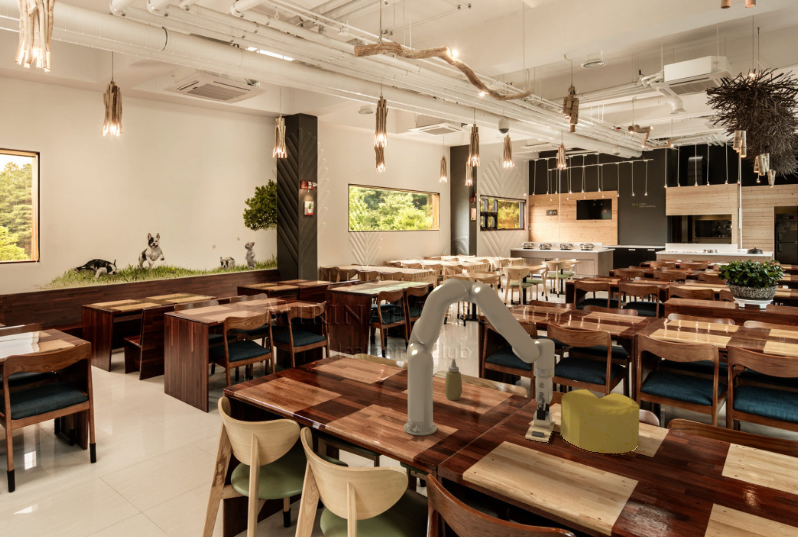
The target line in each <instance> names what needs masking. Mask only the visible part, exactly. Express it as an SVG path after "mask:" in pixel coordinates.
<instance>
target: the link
mask: <svg viewBox="0 0 798 537" xmlns="http://www.w3.org/2000/svg"><path fill="white" fill-rule="evenodd" d="M533 420H534V426H541V427H547V428H550V426H551V424H552V421H553V412H552V411H549V412H546V420H545V421H544V420H538V419H537V409H536V410H535V412H534V414H533Z"/></svg>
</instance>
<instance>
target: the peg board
mask: <svg viewBox="0 0 798 537" xmlns="http://www.w3.org/2000/svg"><path fill="white" fill-rule="evenodd" d="M555 423H556V420H552V424H551V426H550V428H547V427H541V426H534V419H533V421H532V423H531V424H530V426H529V428H528V430H527V432H526V434H525V436H524V439H525V438H526V439H531V440H536V441H542V442H547V443H548V444H549V442H550V440H549V438H550V439H551V437H552V434H553V432H554V429H553V428H555V427H554V425H555V426H556V424H555ZM552 431H553V432H552ZM551 433H552V434H551ZM550 436H551V437H550ZM548 441H549V442H548ZM547 443H546V444H547Z"/></svg>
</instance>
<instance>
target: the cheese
mask: <svg viewBox="0 0 798 537" xmlns="http://www.w3.org/2000/svg"><path fill="white" fill-rule="evenodd" d="M560 399H561V400H560V404H561V405H560V436H561V435H562V437H563V439H565V440H566V441H568V442H569V443H571V444H573V445H575V446H577V447H579V448H582V449H585V450H588V451H592V452H599V453H613V454H614V453H616V454H617V453H624V452H629V451H632V450H634V449H635V448H636V447H637V446H638V447H639V439H640V438H639V436H640V405H639V404H638V402H636V401H635V400H634V399H633V398H631V397H628V396H626V395H623V394H620V393H619V392H618V393H617V392H612V393H610V394H607V395H604V396H603V397H600V398H599V397H598V396H597V395H595V394H594V393H592V392H591V391H590V390H588V389H587V388H585V389H575V390H571V391H568V392H566V393H564V394H563V395H562V396H561V398H560ZM562 437H561V438H562ZM563 439H562V440H563ZM588 451H587V452H588ZM592 452H591V453H592Z"/></svg>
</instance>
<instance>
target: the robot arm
mask: <svg viewBox="0 0 798 537" xmlns="http://www.w3.org/2000/svg"><path fill="white" fill-rule="evenodd" d="M458 302H464V303H470V304H475V305H476V306H477V307H478V309H479V310H480V311H481V312H482V314H483V315H484V316H485V318H486V319H487V321H489V323H490V325H491V326H492V327H493V328H494V329H495V330H496V331H497V332H498V333H499V334H500V335H501V336H502V337H503V338H504V339H505V340H506V341H507V343H509V344H510V346H511V349H512V352H513V353H514V355H515V356H516V357H518V358H519V359H520V360H521V361H523V362H524V363H527V364H531V363H533V376H534V377H536V378H535V380H536V381H535V383H536V384H535V385H536V386H535V401H536V403H537V406H536V410H537V419H538V420H544V421H545V420H546V412H550V406H551V405H550V404H551V401H552V399H553V378H554V377H555V346H556V345H555V342H554V341H553V340H552V339H549V338H538V339H536V338H535V339H534V338H532V337H531V336H530V334H529V333H528V332H527V330H526V329H525V328H524V327H523V326H522V325H521V324H520V323H519V321H518V319H517V318H516V317H515V315H514V314H513V313H512V312H511V311H510V309H509V308H508V307H507V305H506V304H505V303H504V302H503V300H502V299H501V298H500V296H499V295H498V294H497V293H496V291H495V289H493V287H491V286H490V285H488V284H487V283H484V282H478V281H477V282H476V281H471V280H465V279H459V278H454V277H453V278H452V277H451V278H447V279H445V280H443V282H442V283H441V284H440V285H438V286H437V287H434V289H433V290H432V291H431V292H430V293H429V294H428V296H427V298H426V300H425V303H424V305H423V308H422V311H421V314H420V317H419V318H418V319H417V320H415V322H414V324H413V326H412V330H411V333H410V337H409V342H408V345H407V348H406V361H407V422H406V423H404V425H403V430H404V432H405V433H408V434H409V435H413V436H429V435H432V434H434V433H435V432H437V430H438V425H436V423H434V414H433V413H434V412H433V411H434V400H433V399H434V398H433V397H434V395H433V394H434V382H433V381H434V365H435V364H434V358H433V354H432V349H433V346H434V344H435V343H436V342H438V340H439V337H440V335H441V334H440V333H441V330H442V326H443V323H444V319H445V316H446V314H447V310H448V309H449V308H450V306H451V305H453V304H456V303H458Z"/></svg>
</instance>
